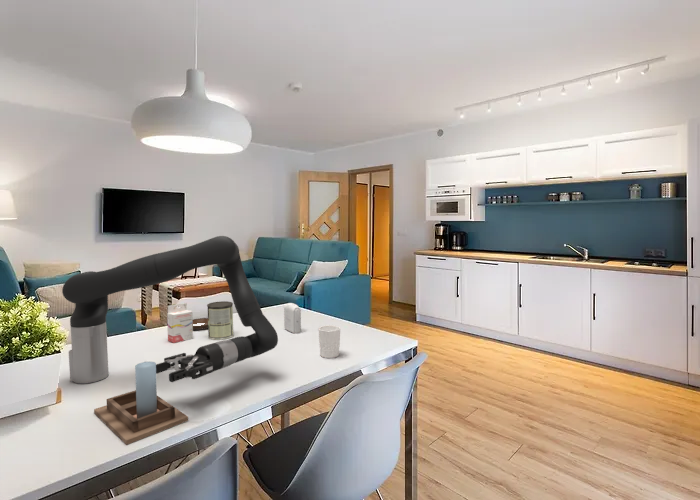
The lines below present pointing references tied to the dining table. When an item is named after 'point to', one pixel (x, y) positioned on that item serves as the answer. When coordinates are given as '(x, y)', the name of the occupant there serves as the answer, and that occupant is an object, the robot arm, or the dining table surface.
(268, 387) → the dining table surface
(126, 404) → the slot rack
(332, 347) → the white cup
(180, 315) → the ink cartridge box
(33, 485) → the dining table surface
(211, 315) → the coffee can
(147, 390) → the slate peg
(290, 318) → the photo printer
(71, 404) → the dining table surface
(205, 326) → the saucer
